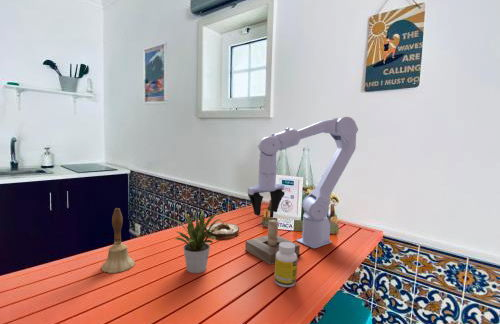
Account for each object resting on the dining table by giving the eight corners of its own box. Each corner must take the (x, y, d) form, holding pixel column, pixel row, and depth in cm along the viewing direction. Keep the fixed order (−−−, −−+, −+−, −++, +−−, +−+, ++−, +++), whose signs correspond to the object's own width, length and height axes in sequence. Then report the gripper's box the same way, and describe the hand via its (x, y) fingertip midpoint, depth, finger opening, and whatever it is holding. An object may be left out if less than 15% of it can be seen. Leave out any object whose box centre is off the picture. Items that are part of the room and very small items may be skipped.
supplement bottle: (295, 289, 67) (297, 250, 66) (273, 286, 68) (274, 247, 67) (296, 278, 72) (298, 241, 71) (275, 275, 73) (277, 239, 72)
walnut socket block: (273, 241, 96) (273, 233, 96) (299, 254, 86) (299, 245, 86) (245, 250, 89) (245, 240, 88) (270, 264, 79) (270, 254, 79)
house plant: (235, 262, 80) (236, 206, 78) (213, 286, 67) (215, 221, 65) (192, 253, 85) (192, 201, 83) (163, 275, 72) (163, 213, 70)
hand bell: (95, 266, 75) (93, 209, 74) (125, 256, 82) (124, 203, 80) (110, 276, 70) (109, 215, 69) (140, 265, 77) (140, 208, 75)
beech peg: (272, 249, 90) (273, 219, 89) (278, 252, 87) (280, 221, 86) (265, 251, 88) (266, 221, 87) (271, 255, 85) (272, 223, 84)
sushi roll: (193, 233, 103) (193, 222, 102) (223, 224, 114) (223, 214, 113) (220, 245, 93) (221, 233, 92) (250, 234, 104) (250, 223, 104)
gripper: (275, 170, 100) (273, 207, 101) (242, 173, 91) (241, 213, 93) (289, 173, 94) (287, 212, 96) (256, 176, 86) (254, 219, 87)
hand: (265, 213), depth 94 cm, fingers open, 7 cm apart
